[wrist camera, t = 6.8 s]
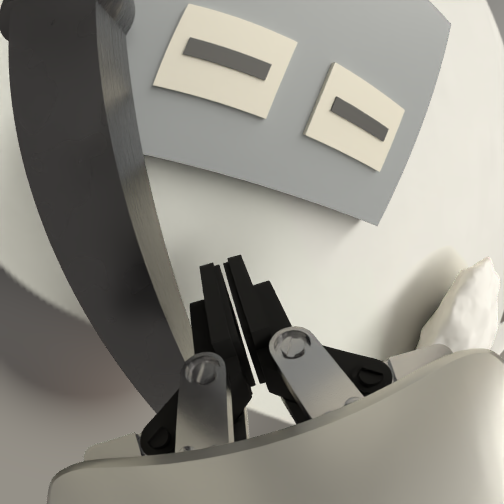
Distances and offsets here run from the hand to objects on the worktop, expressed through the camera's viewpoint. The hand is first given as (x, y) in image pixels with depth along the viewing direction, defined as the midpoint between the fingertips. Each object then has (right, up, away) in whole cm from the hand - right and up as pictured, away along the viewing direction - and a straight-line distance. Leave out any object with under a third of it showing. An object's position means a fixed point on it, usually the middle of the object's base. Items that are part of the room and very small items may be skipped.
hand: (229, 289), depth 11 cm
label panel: (+2, +12, -1) cm, 13 cm away
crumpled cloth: (+26, -10, +19) cm, 34 cm away
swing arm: (-4, +3, -1) cm, 5 cm away
